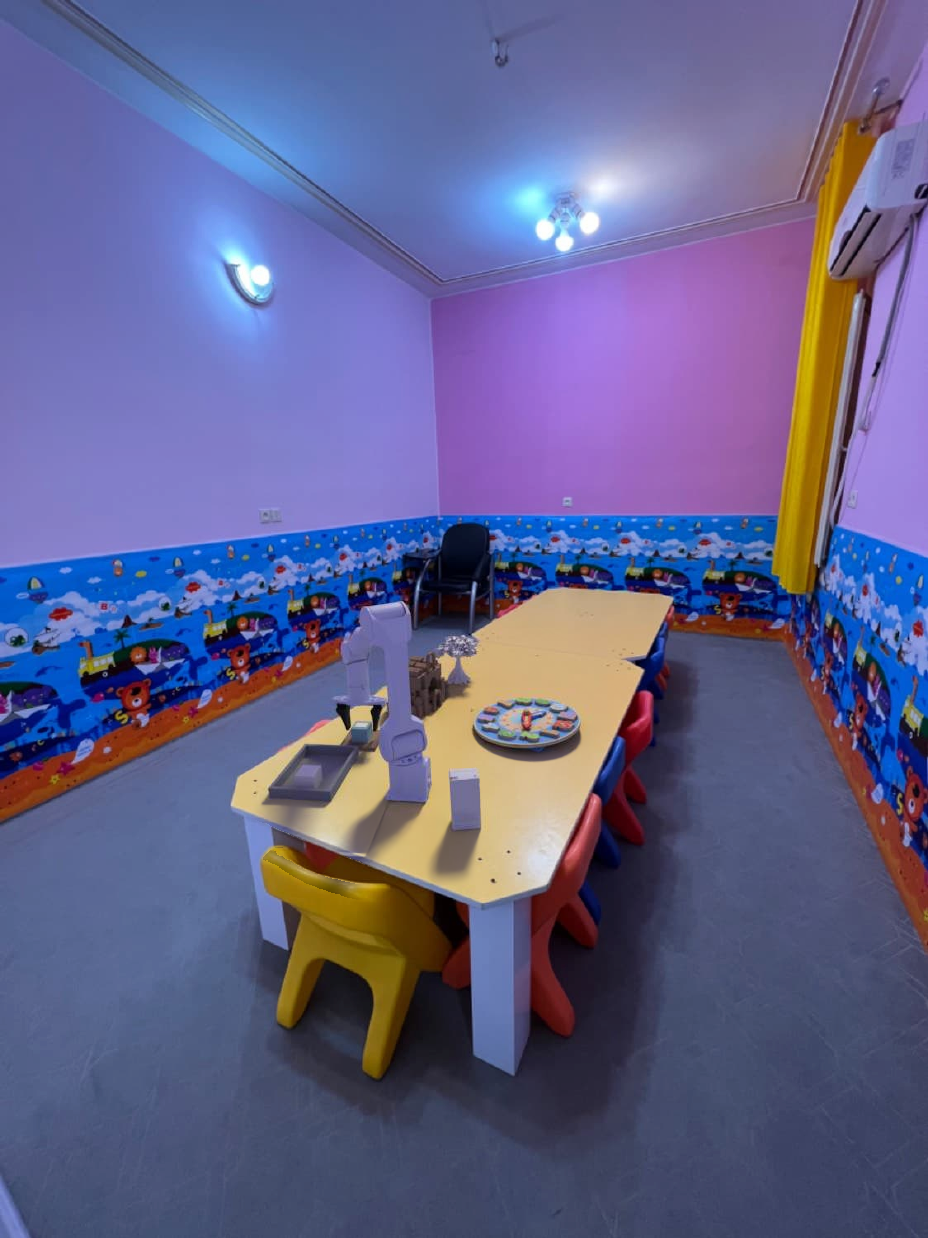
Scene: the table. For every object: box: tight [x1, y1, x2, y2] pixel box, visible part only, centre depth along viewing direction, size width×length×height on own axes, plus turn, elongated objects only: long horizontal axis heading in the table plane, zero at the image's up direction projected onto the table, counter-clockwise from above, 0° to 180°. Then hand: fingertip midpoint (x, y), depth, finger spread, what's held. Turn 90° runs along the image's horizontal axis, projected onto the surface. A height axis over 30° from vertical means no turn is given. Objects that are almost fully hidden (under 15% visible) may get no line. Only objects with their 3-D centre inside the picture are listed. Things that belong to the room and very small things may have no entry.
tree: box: [433, 635, 479, 685], centre depth 174 cm, size 18×16×17 cm
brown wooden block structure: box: [386, 651, 450, 719], centre depth 155 cm, size 22×15×19 cm, turn 153°
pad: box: [339, 729, 380, 752], centre depth 135 cm, size 10×10×1 cm
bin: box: [267, 743, 360, 802], centre depth 119 cm, size 15×20×3 cm
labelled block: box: [350, 720, 373, 743], centre depth 134 cm, size 4×4×4 cm
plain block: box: [295, 765, 323, 789], centre depth 114 cm, size 4×4×4 cm
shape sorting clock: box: [473, 697, 582, 753], centre depth 140 cm, size 31×30×6 cm
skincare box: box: [448, 767, 482, 831], centre depth 100 cm, size 6×4×12 cm
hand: (362, 729), depth 134 cm, fingers open, 7 cm apart
